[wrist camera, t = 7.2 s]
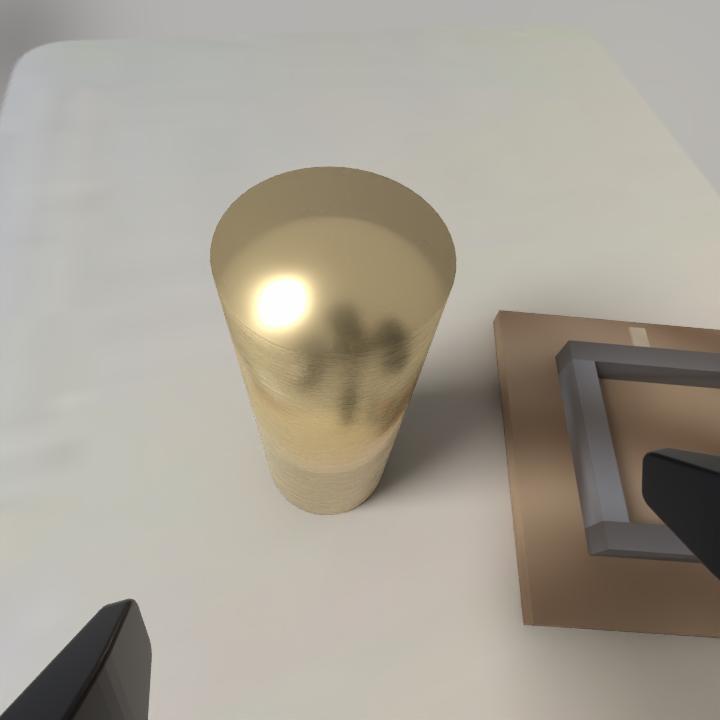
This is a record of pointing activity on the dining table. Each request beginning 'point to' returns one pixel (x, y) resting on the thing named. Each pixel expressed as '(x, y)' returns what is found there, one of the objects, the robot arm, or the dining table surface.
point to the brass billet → (331, 321)
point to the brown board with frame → (604, 468)
